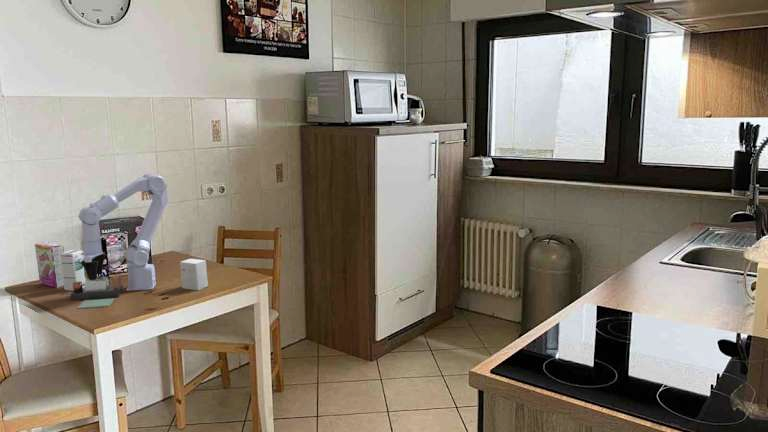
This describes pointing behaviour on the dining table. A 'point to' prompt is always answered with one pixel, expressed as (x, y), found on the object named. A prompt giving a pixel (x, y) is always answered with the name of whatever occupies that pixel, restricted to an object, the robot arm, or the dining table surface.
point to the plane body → (109, 293)
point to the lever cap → (97, 284)
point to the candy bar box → (49, 264)
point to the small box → (194, 274)
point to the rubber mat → (95, 303)
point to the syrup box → (72, 268)
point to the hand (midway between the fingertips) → (95, 276)
